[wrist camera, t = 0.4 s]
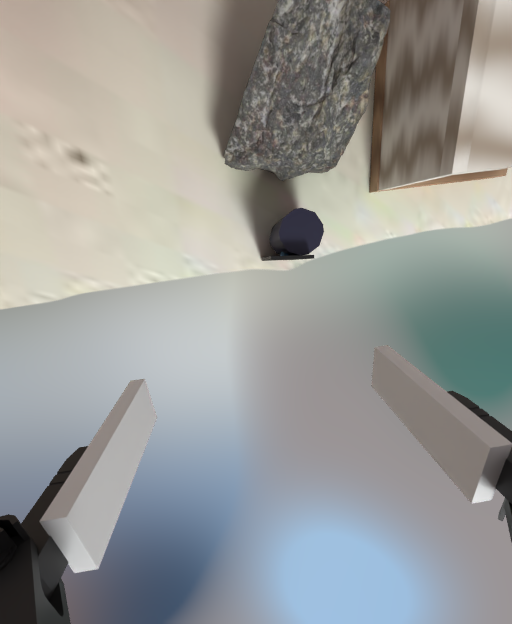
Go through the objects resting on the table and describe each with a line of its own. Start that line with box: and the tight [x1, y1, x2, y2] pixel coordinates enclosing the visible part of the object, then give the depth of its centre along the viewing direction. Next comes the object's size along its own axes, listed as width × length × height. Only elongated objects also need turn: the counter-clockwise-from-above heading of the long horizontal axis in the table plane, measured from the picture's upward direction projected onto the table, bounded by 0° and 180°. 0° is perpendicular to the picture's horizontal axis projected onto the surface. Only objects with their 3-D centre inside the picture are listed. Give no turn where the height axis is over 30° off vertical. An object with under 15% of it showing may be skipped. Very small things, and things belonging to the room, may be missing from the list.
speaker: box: [262, 208, 324, 261], centre depth 33 cm, size 8×6×10 cm
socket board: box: [370, 0, 512, 192], centre depth 27 cm, size 20×20×14 cm
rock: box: [224, 0, 391, 181], centre depth 29 cm, size 18×13×15 cm
